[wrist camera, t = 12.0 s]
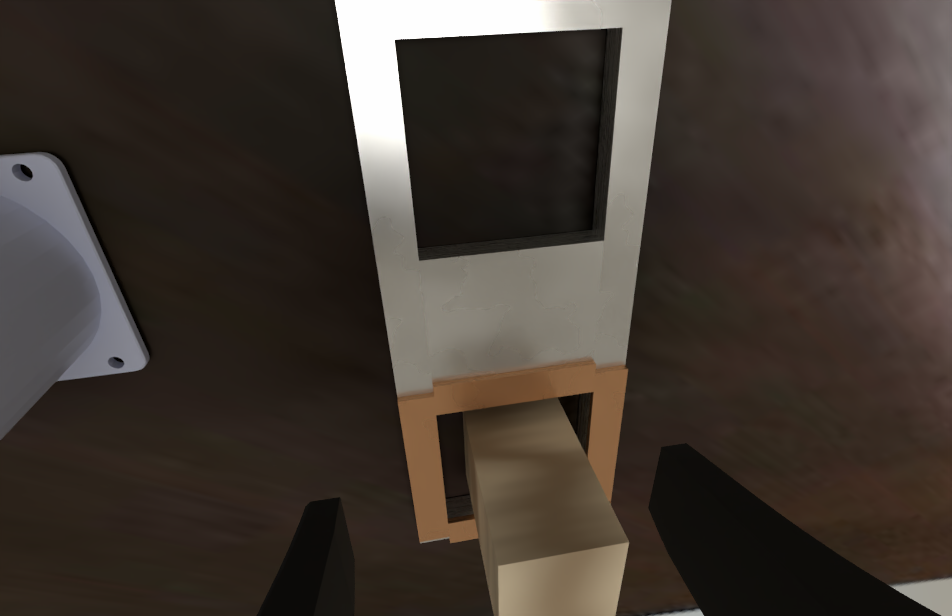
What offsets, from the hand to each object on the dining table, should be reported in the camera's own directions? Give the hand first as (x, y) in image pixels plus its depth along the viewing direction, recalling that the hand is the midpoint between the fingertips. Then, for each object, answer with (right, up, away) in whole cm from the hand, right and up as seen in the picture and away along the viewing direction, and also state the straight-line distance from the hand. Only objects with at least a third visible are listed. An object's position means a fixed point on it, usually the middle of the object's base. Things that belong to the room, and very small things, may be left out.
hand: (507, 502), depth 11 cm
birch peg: (+1, -2, +13) cm, 13 cm away
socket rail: (+1, +4, +10) cm, 11 cm away
